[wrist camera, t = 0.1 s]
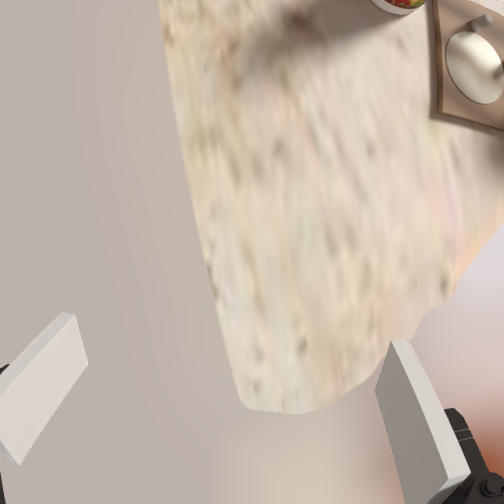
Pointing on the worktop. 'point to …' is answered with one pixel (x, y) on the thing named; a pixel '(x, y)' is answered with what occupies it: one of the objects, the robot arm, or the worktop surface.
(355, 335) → the worktop surface
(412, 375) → the robot arm
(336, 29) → the worktop surface
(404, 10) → the milk bottle
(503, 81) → the board
